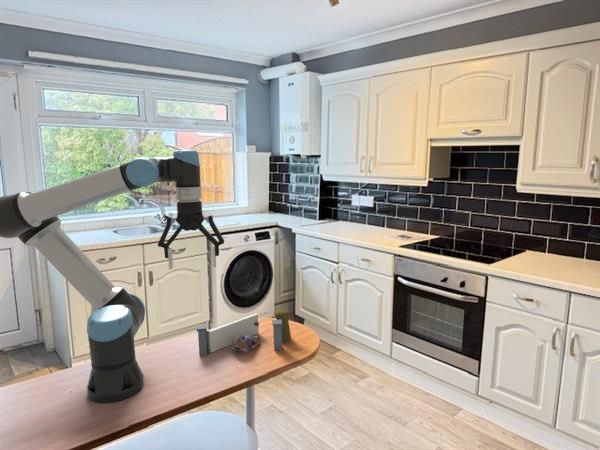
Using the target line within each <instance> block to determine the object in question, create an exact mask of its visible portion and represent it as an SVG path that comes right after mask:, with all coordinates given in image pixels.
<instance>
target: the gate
mask: <svg viewBox="0 0 600 450" xmlns="http://www.w3.org/2000/svg"><path fill="white" fill-rule="evenodd" d="M259 325H260V322H259V313H253V314H250V315H247V316H245V317H242V318H239V319H236V320H235V321H231V322H228V323H226V324H224V325H220V326H217V327H215V328H211V329H209V330H207V331H206V337H207V355H209V354H211V353H214V352H216V351H218V350H220V349H223V348H225V347H229V346H232V341H233V340H234V339H235V338H236V337H237V336H238V335H248V336H251V337H253V336H256V335H257V334H259V333H260V329H259Z"/></svg>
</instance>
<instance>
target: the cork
mask: <svg viewBox="0 0 600 450" xmlns="http://www.w3.org/2000/svg"><path fill="white" fill-rule="evenodd" d="M290 315H291V314H290V312H289V310H288V309H278V310H276V312H275V315H274V316H275V320H282V326H281V331H282V344H286V343H289V342H291V340H292V336H291V335H292V334H291V329H290V324H289V323H290V322H289V319H290Z"/></svg>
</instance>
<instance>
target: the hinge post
mask: <svg viewBox="0 0 600 450" xmlns="http://www.w3.org/2000/svg"><path fill="white" fill-rule="evenodd" d="M208 326H209V325H208V324H207V323H206V324H203V323H202V324H197V326H196V332H197V335H198V336H197V337H198V339H197V340H198V353H199V357H204V356H205V357H206V356H208V353H207V337H206V331H208Z"/></svg>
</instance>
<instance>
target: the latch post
mask: <svg viewBox="0 0 600 450" xmlns="http://www.w3.org/2000/svg"><path fill="white" fill-rule="evenodd" d="M271 321H272V323H271V324H272V327H273V331H272V332H273V333H272V334H273V349H274V352H275V351H283V345H282V344H283V343H282V331H281V326H282V320H277V319H272V320H271Z"/></svg>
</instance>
